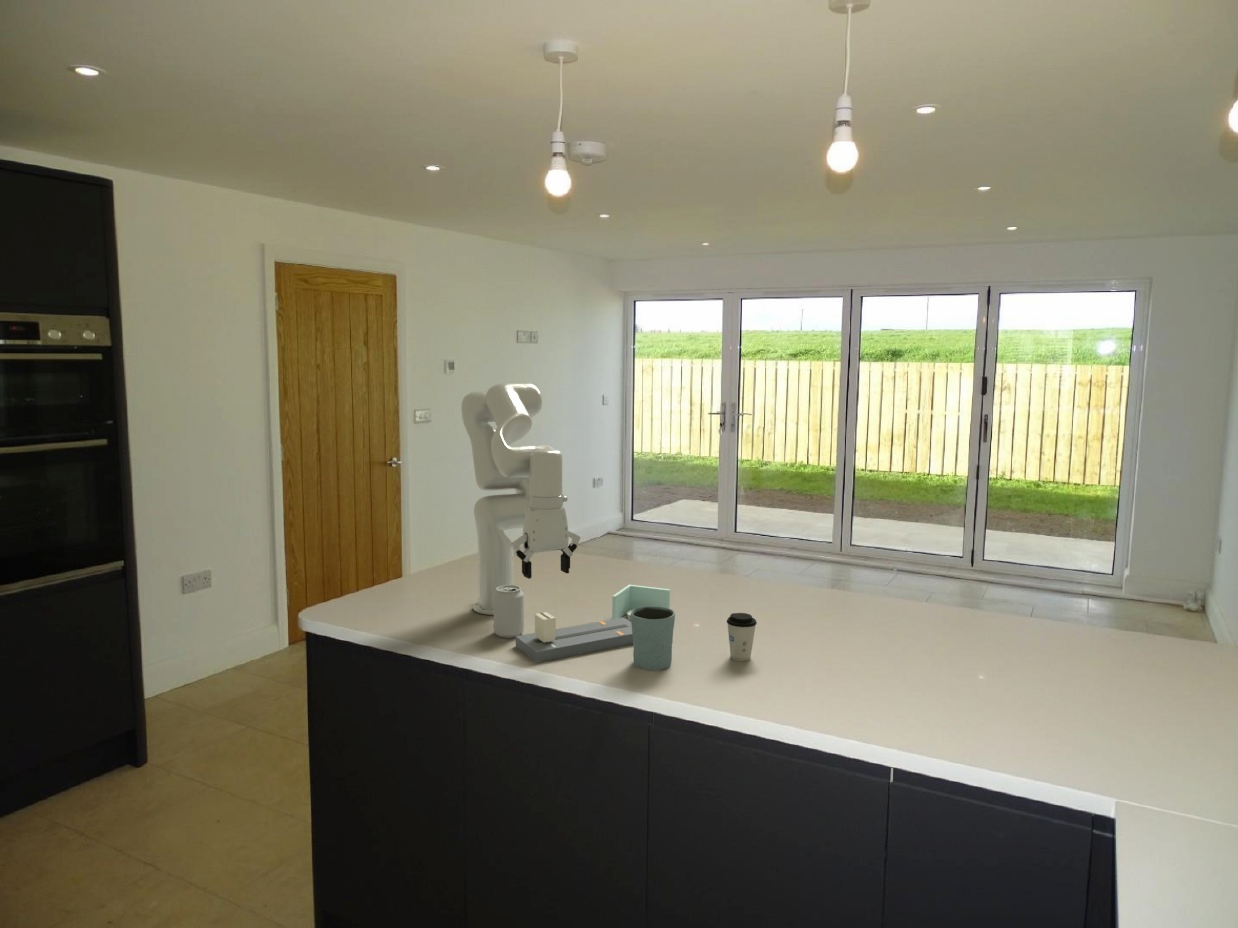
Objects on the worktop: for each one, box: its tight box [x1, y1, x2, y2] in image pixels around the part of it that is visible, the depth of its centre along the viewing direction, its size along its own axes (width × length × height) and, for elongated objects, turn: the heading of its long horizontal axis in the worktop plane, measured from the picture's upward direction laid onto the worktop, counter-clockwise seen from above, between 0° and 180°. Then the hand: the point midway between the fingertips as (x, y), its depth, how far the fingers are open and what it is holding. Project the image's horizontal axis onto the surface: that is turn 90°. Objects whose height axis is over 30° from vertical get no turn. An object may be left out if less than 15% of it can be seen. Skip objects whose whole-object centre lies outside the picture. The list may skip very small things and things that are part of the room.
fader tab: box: [534, 611, 556, 642], centre depth 194 cm, size 5×3×6 cm, turn 30°
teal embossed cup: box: [630, 606, 676, 671], centre depth 187 cm, size 10×10×12 cm
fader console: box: [515, 616, 633, 663], centre depth 200 cm, size 12×30×3 cm, turn 120°
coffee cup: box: [726, 612, 758, 662], centre depth 191 cm, size 7×7×10 cm
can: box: [493, 584, 525, 639], centre depth 206 cm, size 8×8×12 cm
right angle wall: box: [611, 584, 671, 621], centre depth 220 cm, size 12×12×8 cm
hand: (546, 574), depth 192 cm, fingers open, 9 cm apart
